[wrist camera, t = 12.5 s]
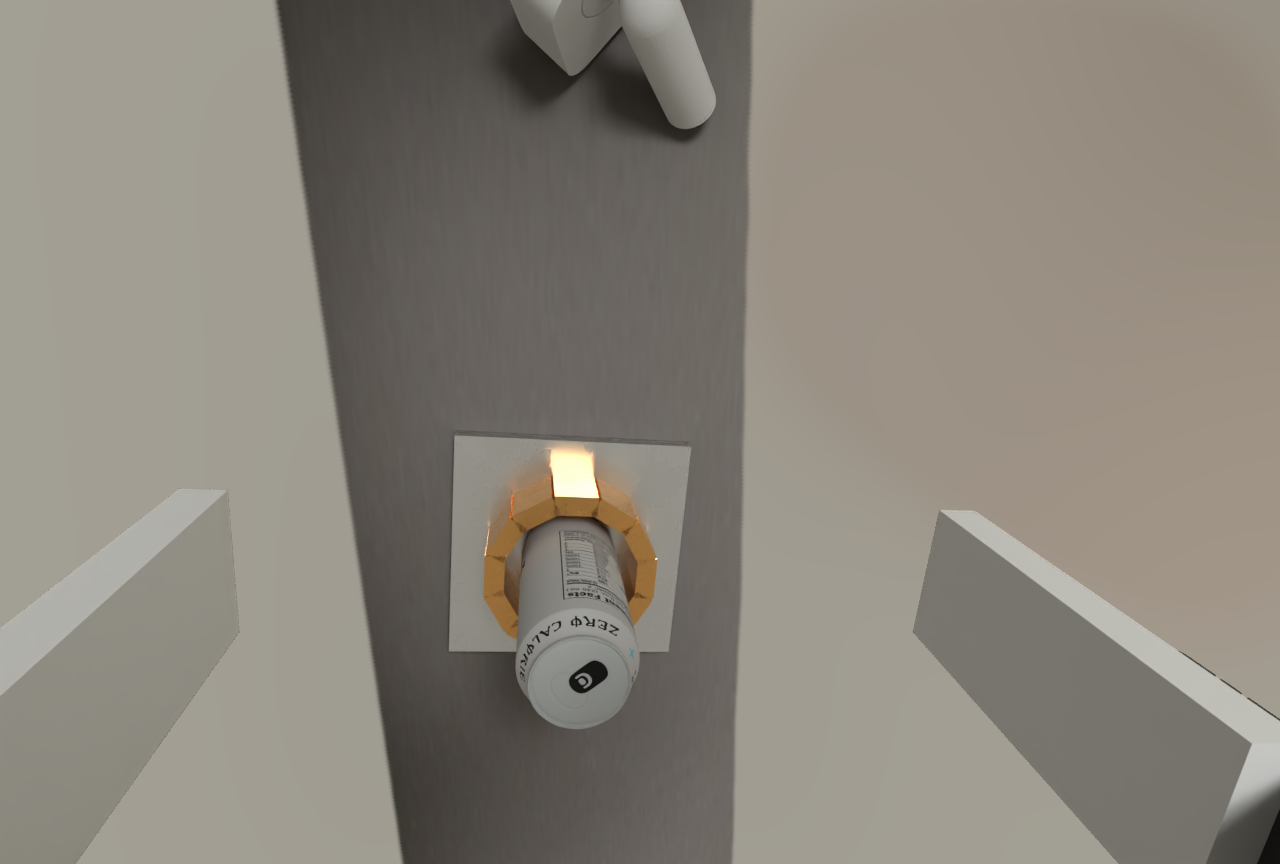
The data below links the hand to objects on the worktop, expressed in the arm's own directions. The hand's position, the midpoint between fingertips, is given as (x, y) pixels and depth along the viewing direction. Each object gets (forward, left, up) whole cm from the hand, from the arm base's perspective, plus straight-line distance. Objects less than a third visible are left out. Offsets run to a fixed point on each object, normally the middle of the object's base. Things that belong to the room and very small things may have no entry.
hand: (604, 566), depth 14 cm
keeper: (+14, +2, -33) cm, 36 cm away
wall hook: (-17, +3, -34) cm, 38 cm away
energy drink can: (+14, +2, -32) cm, 35 cm away
